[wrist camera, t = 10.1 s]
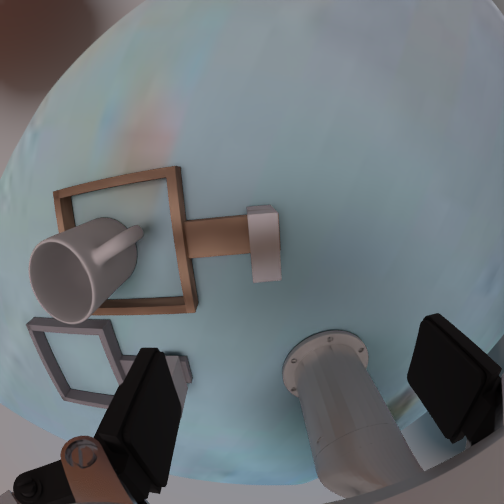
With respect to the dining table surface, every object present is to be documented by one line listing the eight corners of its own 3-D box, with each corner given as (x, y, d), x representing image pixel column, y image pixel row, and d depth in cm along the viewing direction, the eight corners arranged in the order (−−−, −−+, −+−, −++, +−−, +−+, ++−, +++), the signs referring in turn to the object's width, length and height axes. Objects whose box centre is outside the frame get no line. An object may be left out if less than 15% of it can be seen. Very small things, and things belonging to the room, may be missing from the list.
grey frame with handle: (200, 404, 38) (195, 439, 31) (68, 392, 37) (52, 416, 30) (177, 318, 33) (164, 351, 26) (34, 317, 33) (9, 338, 26)
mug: (102, 293, 32) (59, 336, 22) (70, 237, 30) (16, 263, 19) (174, 253, 31) (143, 291, 20) (138, 188, 29) (90, 197, 18)
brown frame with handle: (281, 296, 33) (291, 327, 26) (88, 306, 33) (62, 332, 26) (273, 157, 28) (282, 151, 21) (64, 189, 28) (28, 196, 21)
